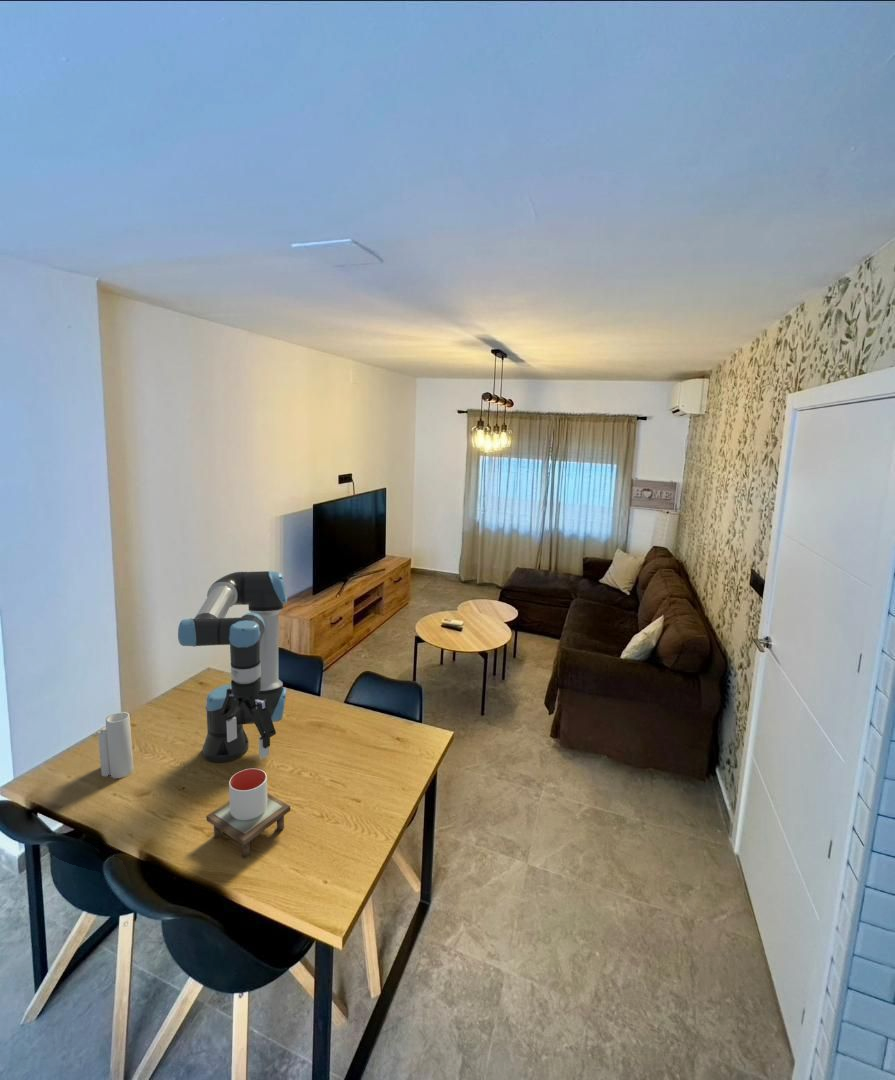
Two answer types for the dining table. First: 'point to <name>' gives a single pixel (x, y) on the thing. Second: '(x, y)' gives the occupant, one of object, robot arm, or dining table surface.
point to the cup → (248, 794)
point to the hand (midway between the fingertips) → (247, 748)
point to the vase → (116, 746)
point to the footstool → (248, 822)
